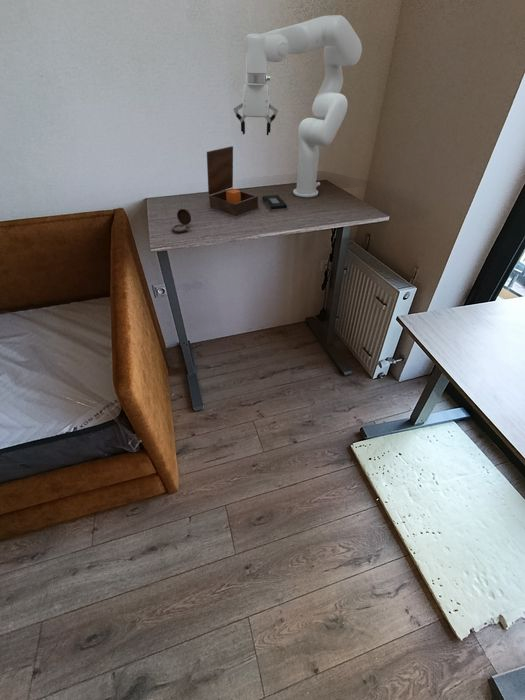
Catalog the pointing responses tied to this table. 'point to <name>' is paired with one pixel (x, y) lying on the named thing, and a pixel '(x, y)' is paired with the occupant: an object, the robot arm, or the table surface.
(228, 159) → the case lid
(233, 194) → the block
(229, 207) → the case
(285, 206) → the vhs tape
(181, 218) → the compass
